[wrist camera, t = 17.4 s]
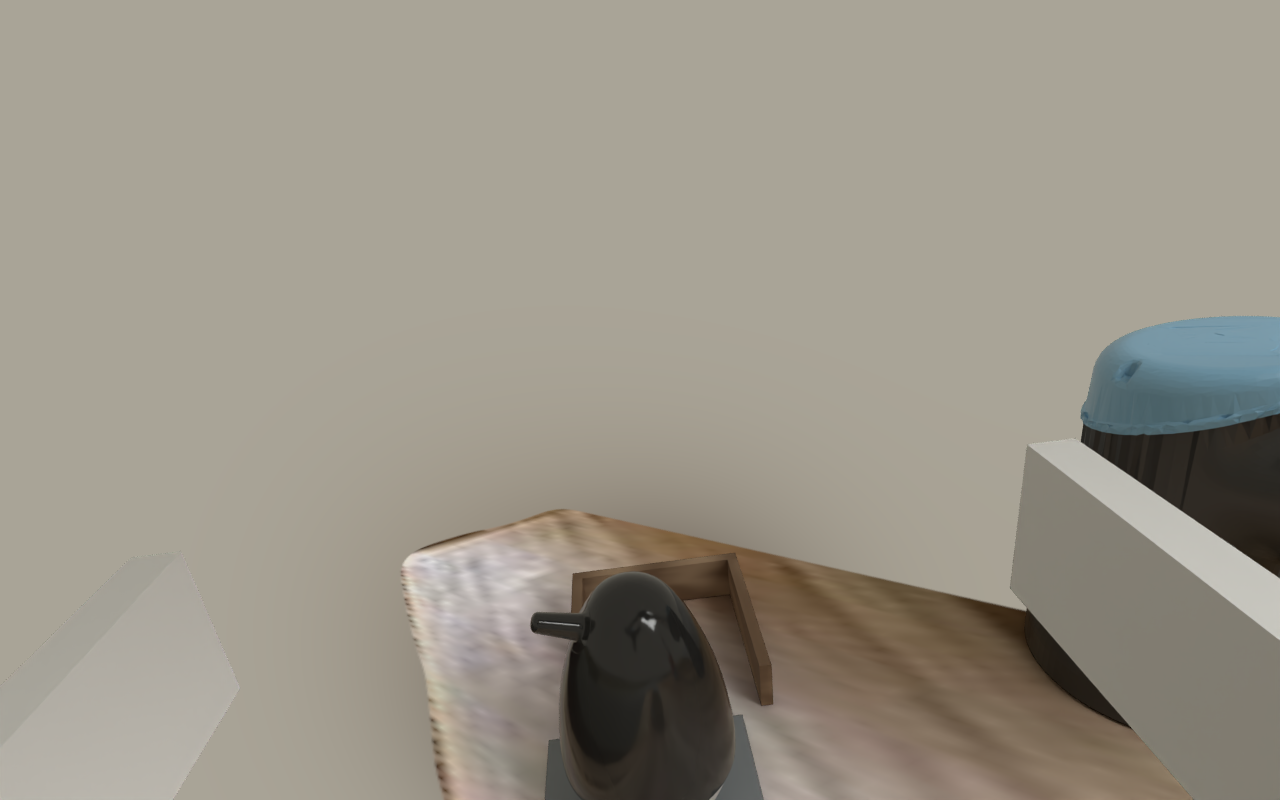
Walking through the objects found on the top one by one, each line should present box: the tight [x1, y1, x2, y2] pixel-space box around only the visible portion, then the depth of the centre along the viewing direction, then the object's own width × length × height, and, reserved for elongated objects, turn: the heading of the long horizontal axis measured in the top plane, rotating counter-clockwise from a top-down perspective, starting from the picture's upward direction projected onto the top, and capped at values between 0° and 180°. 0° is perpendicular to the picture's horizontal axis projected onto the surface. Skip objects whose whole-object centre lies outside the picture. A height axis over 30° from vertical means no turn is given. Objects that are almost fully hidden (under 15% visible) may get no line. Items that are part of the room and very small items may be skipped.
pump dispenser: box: [530, 571, 736, 800], centre depth 40 cm, size 10×10×15 cm
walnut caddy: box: [571, 553, 773, 706], centre depth 53 cm, size 14×13×4 cm
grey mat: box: [545, 715, 764, 800], centre depth 43 cm, size 13×9×1 cm
